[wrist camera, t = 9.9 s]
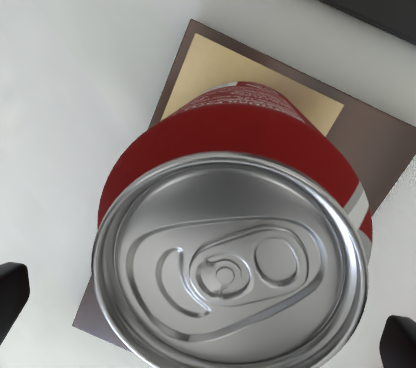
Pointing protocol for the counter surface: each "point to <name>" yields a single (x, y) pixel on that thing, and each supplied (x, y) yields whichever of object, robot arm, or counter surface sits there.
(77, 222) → the counter surface
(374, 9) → the phone
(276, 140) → the soda can
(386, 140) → the board
